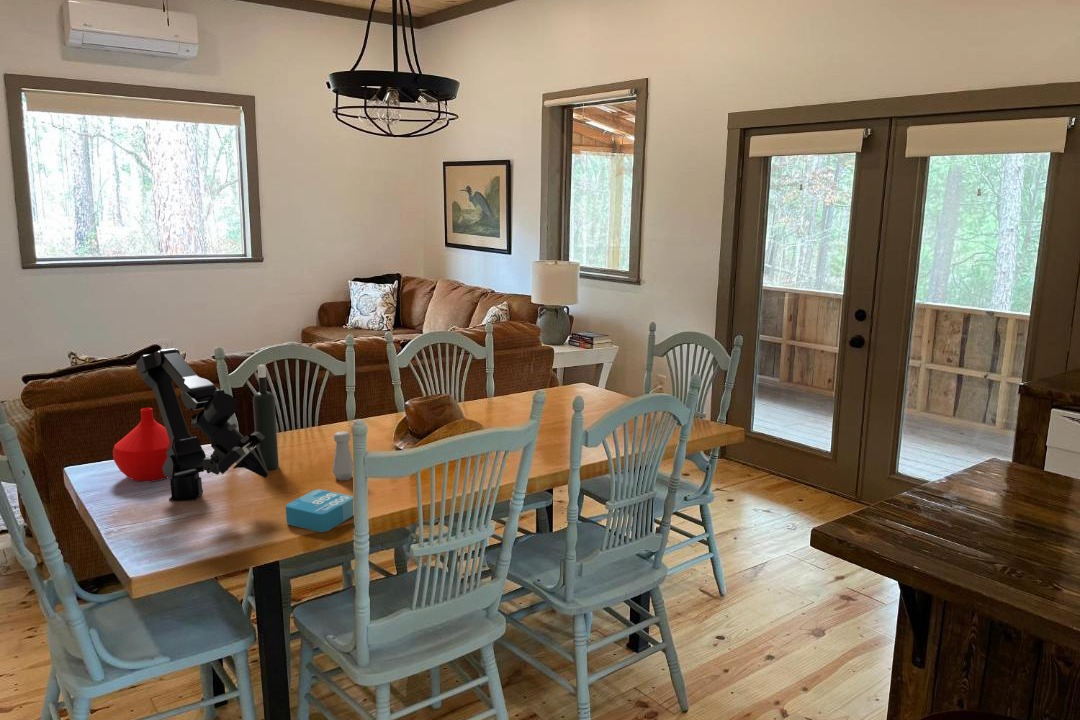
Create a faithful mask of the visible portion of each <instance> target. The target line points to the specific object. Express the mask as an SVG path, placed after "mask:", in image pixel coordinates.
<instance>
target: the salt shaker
mask: <svg viewBox="0 0 1080 720" xmlns="http://www.w3.org/2000/svg"><path fill="white" fill-rule="evenodd" d="M333 439H334V440H333V441H334V442H336V443H335V450H334V452H335V453H334V459H333V467H332V473H333V475H334V476H335V479H336V480H337V479H338V480H337V481H342V480H345V481H348V480H351V479H352V477H353V475H352V471H353V465H354V462H353V458H352V453H351V449H350V444H349V441H350V440H351V435H350V433H349V431H343V430H342V431H338V432H337V431H336V432H335V433H334V434H333Z"/></svg>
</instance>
